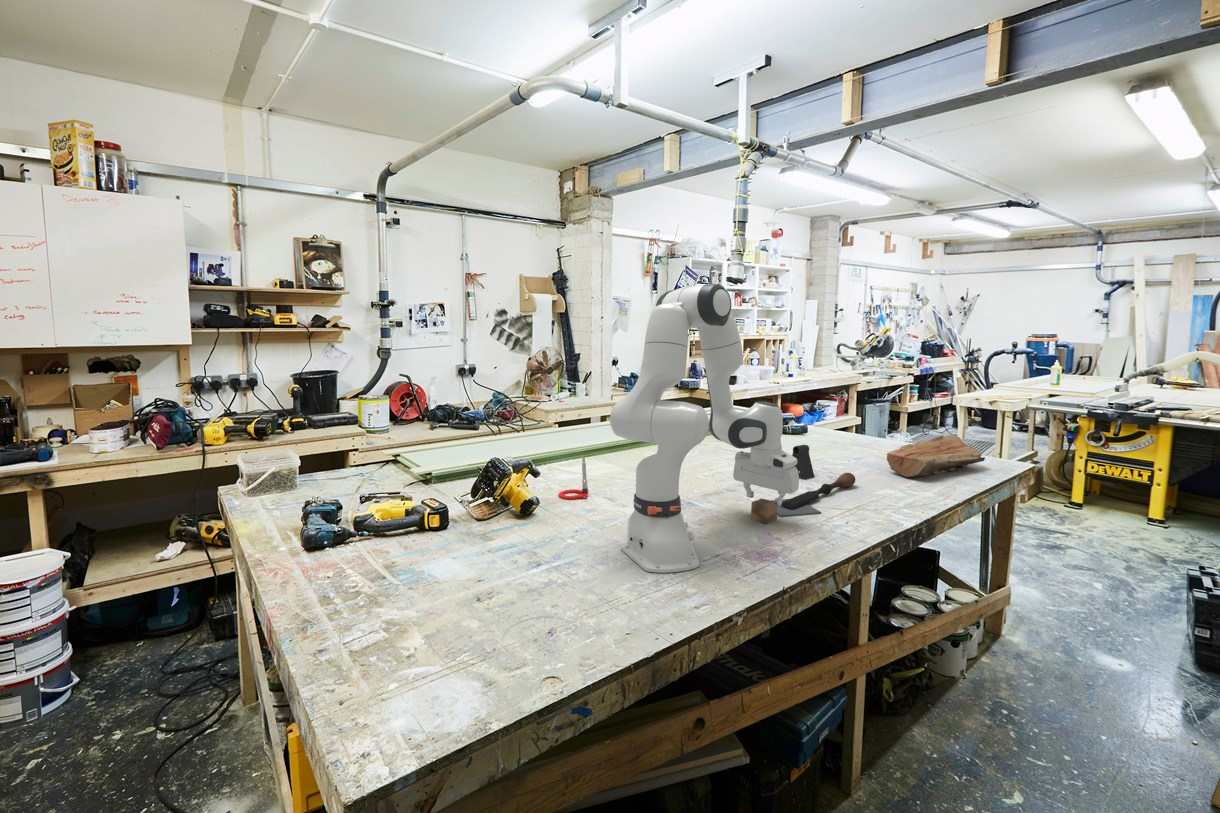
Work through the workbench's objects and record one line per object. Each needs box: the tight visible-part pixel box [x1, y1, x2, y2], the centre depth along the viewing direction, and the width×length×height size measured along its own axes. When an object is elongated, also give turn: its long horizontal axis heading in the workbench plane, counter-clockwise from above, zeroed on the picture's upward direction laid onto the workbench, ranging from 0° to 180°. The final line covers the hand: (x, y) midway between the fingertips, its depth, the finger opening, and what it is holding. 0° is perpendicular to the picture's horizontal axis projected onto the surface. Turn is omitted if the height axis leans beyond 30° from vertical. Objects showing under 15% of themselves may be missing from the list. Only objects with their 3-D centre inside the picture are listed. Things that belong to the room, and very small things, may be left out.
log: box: [886, 433, 986, 479], centre depth 224 cm, size 42×17×15 cm, turn 116°
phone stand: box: [791, 444, 815, 481], centre depth 217 cm, size 9×6×12 cm, turn 34°
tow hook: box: [558, 455, 589, 500], centre depth 191 cm, size 9×14×10 cm
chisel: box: [781, 472, 856, 509], centre depth 192 cm, size 5×43×5 cm, turn 131°
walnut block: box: [750, 497, 778, 525], centre depth 169 cm, size 6×6×6 cm
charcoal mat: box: [770, 498, 822, 518], centre depth 180 cm, size 14×14×1 cm
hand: (763, 500), depth 170 cm, fingers open, 8 cm apart
